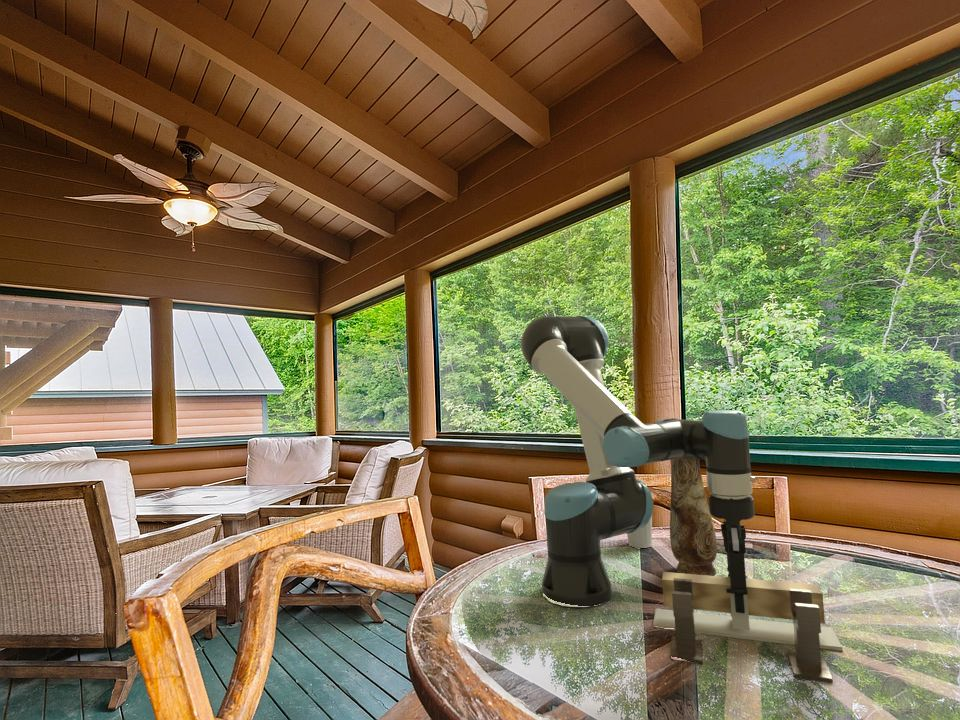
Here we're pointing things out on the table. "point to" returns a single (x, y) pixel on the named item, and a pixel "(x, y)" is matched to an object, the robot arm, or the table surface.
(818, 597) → the rail
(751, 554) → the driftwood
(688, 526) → the vase
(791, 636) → the cream flat board
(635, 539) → the cup
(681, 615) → the standard left
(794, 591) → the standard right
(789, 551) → the table surface
